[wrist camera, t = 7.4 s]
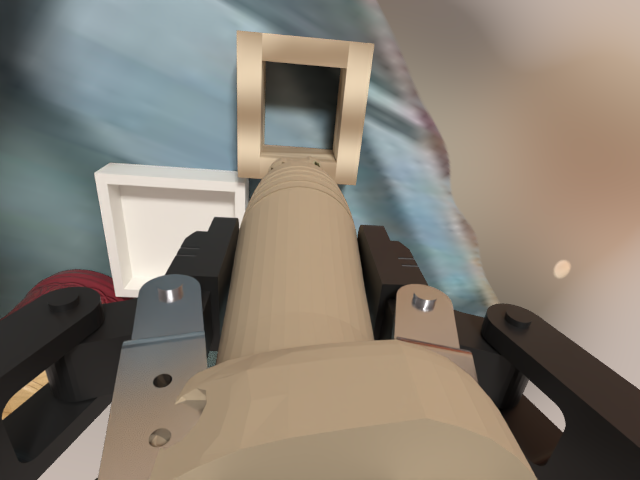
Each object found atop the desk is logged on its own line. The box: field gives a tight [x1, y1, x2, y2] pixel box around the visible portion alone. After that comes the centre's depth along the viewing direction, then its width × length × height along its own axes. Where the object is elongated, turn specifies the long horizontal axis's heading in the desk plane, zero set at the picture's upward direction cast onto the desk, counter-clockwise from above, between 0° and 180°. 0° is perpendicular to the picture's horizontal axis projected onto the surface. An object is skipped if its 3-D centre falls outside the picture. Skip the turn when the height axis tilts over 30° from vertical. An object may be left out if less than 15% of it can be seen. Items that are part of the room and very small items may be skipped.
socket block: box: [237, 31, 374, 185], centre depth 36 cm, size 12×11×5 cm
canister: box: [0, 269, 135, 420], centre depth 40 cm, size 13×13×18 cm
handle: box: [149, 156, 537, 480], centre depth 12 cm, size 5×6×15 cm
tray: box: [94, 163, 249, 297], centre depth 42 cm, size 14×14×4 cm
